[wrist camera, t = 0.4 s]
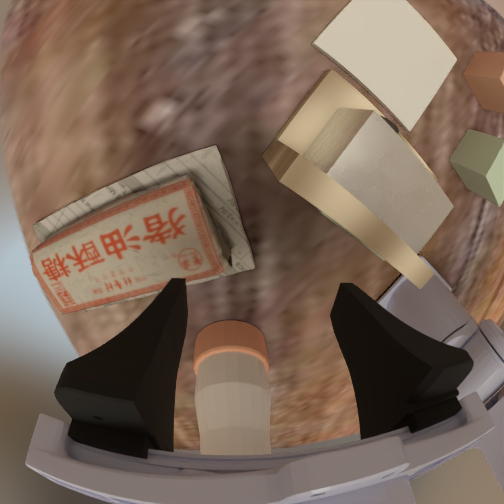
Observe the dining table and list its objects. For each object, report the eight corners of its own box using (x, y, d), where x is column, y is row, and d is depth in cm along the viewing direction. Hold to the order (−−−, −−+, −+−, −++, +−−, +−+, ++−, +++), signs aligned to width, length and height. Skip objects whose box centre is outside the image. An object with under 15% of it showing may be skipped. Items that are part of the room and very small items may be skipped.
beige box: (430, 176, 20) (484, 206, 14) (377, 246, 23) (417, 292, 17) (326, 70, 15) (373, 56, 9) (259, 159, 18) (275, 186, 12)
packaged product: (69, 336, 20) (9, 245, 15) (86, 303, 24) (38, 220, 19) (261, 294, 19) (215, 150, 14) (255, 258, 23) (218, 141, 18)
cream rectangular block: (418, 178, 19) (458, 199, 14) (384, 224, 20) (416, 254, 16) (343, 101, 16) (380, 102, 11) (301, 156, 17) (326, 174, 13)
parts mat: (452, 59, 14) (457, 59, 14) (405, 130, 18) (409, 131, 17) (373, -23, 11) (377, -25, 10) (311, 44, 14) (313, 42, 14)
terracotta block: (494, 84, 15) (528, 90, 10) (482, 108, 16) (518, 117, 12) (474, 51, 13) (510, 52, 9) (461, 75, 15) (499, 78, 10)
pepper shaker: (187, 324, 25) (172, 527, 9) (261, 314, 26) (296, 525, 9) (204, 367, 29) (204, 530, 12) (267, 360, 29) (294, 525, 13)
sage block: (484, 158, 19) (518, 173, 15) (466, 188, 21) (499, 207, 16) (468, 128, 17) (505, 139, 13) (448, 159, 19) (485, 176, 15)
